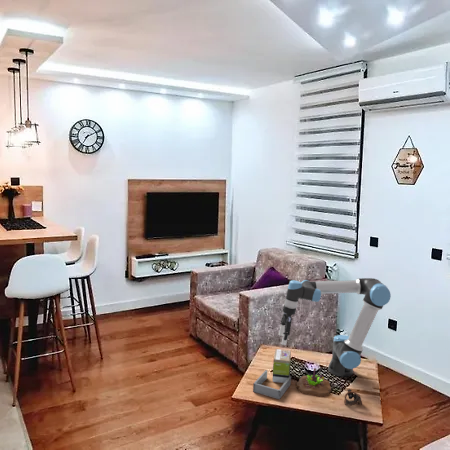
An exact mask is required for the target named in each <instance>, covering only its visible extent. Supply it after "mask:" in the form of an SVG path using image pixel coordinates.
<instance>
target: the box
mask: <svg viewBox="0 0 450 450" xmlns="http://www.w3.org/2000/svg"><path fill="white" fill-rule="evenodd" d="M267 378H268V370H267V369H266V370H265V371H263V373H261V375H260V376H259V377H258V378H257V379H256V380H255V381H254V382H253V386H252V392H253V393H256V394H259V395H262V396H266V397H270V398H273V399H276V400H281V398H282V397H283V396H284V394H285V393H286V391H287V390H288V388H290V386H291V385H292V384H291V381H292V376H291V375H290V376H289V378H288V379H287V380H286V381H285V383H282V385H281V386H280V388H279V389H277V388H273V387H271V386H267V385H264V384H263V383H264V382H265V381H266V380H267Z"/></svg>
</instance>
